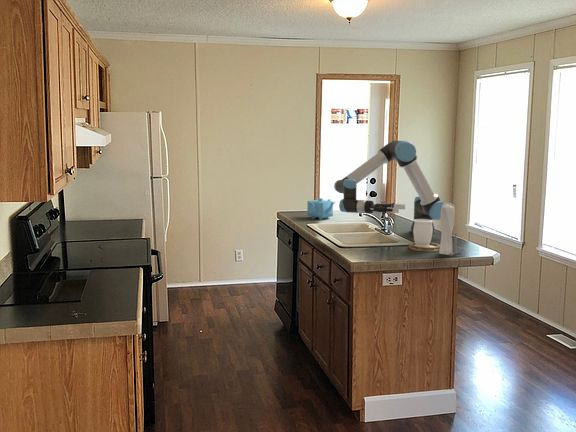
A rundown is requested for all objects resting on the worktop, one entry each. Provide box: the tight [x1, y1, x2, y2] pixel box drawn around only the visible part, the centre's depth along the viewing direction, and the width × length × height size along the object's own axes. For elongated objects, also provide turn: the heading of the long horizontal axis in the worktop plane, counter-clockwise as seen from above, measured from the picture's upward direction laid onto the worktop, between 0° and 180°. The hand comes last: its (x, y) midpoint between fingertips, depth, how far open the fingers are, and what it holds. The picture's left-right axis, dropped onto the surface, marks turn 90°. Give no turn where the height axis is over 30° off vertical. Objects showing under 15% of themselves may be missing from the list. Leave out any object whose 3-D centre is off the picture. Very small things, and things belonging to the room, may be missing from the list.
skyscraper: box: [438, 202, 458, 256], centre depth 322 cm, size 8×8×28 cm
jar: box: [412, 219, 434, 248], centre depth 334 cm, size 11×10×15 cm
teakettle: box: [306, 197, 336, 221], centre depth 437 cm, size 19×19×15 cm
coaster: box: [408, 241, 440, 253], centre depth 336 cm, size 17×17×2 cm
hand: (401, 208), depth 343 cm, fingers open, 13 cm apart
